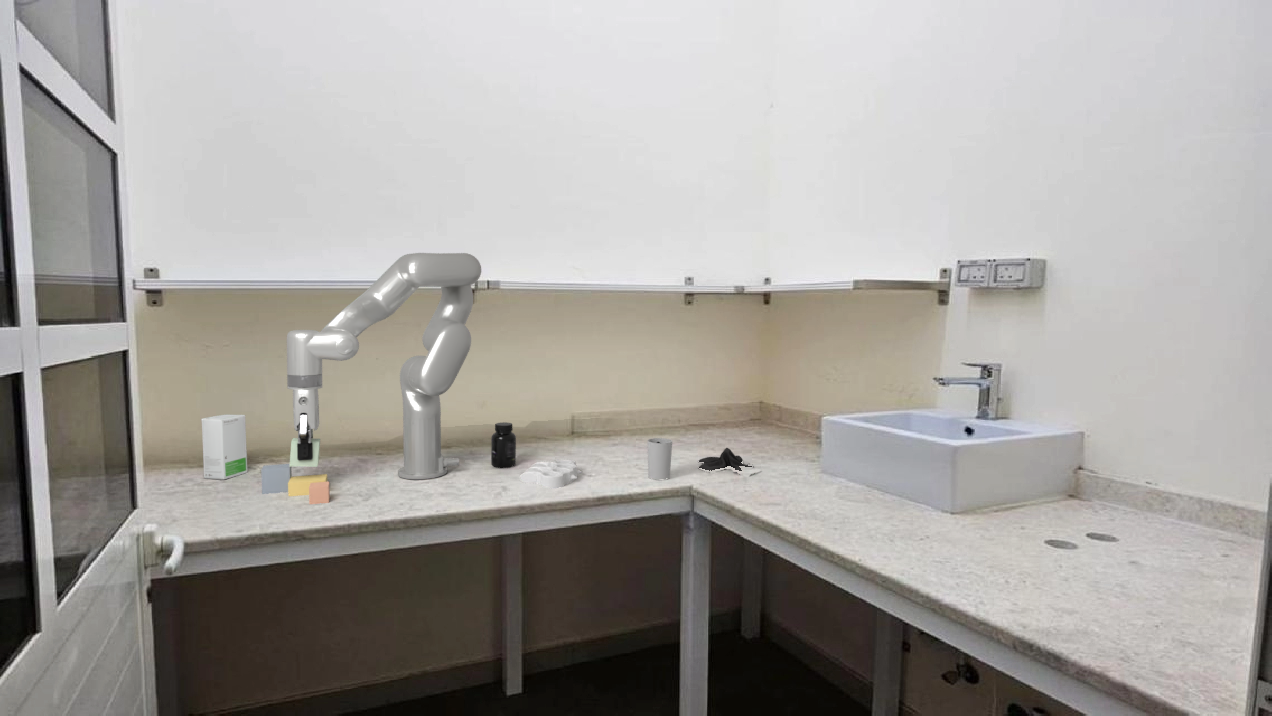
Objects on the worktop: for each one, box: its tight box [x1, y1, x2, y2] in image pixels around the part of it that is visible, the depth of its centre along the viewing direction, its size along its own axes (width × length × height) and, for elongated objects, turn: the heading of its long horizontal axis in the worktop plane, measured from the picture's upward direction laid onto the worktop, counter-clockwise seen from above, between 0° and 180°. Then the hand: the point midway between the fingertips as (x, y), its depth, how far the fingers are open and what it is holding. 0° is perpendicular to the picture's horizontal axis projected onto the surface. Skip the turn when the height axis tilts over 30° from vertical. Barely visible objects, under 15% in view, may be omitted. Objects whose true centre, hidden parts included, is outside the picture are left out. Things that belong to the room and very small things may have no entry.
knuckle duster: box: [519, 458, 583, 489], centre depth 178 cm, size 3×18×15 cm
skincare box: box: [201, 414, 248, 480], centre depth 175 cm, size 8×7×16 cm
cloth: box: [698, 447, 752, 471], centre depth 194 cm, size 22×19×6 cm
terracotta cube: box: [308, 481, 331, 505], centre depth 155 cm, size 4×4×4 cm
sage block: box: [289, 437, 321, 468], centre depth 162 cm, size 6×4×6 cm, turn 112°
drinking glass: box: [647, 437, 673, 480], centre depth 180 cm, size 7×7×10 cm
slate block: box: [260, 463, 293, 495], centre depth 163 cm, size 6×4×6 cm, turn 112°
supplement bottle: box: [490, 421, 517, 469], centre depth 190 cm, size 7×7×12 cm
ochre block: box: [287, 473, 328, 497], centre depth 163 cm, size 8×6×4 cm
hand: (305, 456), depth 162 cm, fingers closed on sage block, 4 cm apart
